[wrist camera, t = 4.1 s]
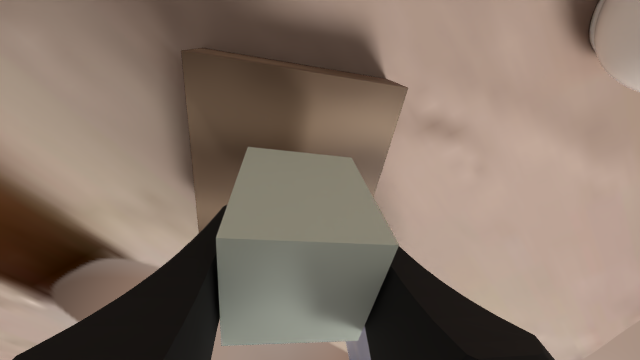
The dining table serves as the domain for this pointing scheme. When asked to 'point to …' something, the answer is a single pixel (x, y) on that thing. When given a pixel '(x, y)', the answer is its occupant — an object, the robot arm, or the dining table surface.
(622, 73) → the lidded jar
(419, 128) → the dining table surface
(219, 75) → the walnut box
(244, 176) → the sage block
